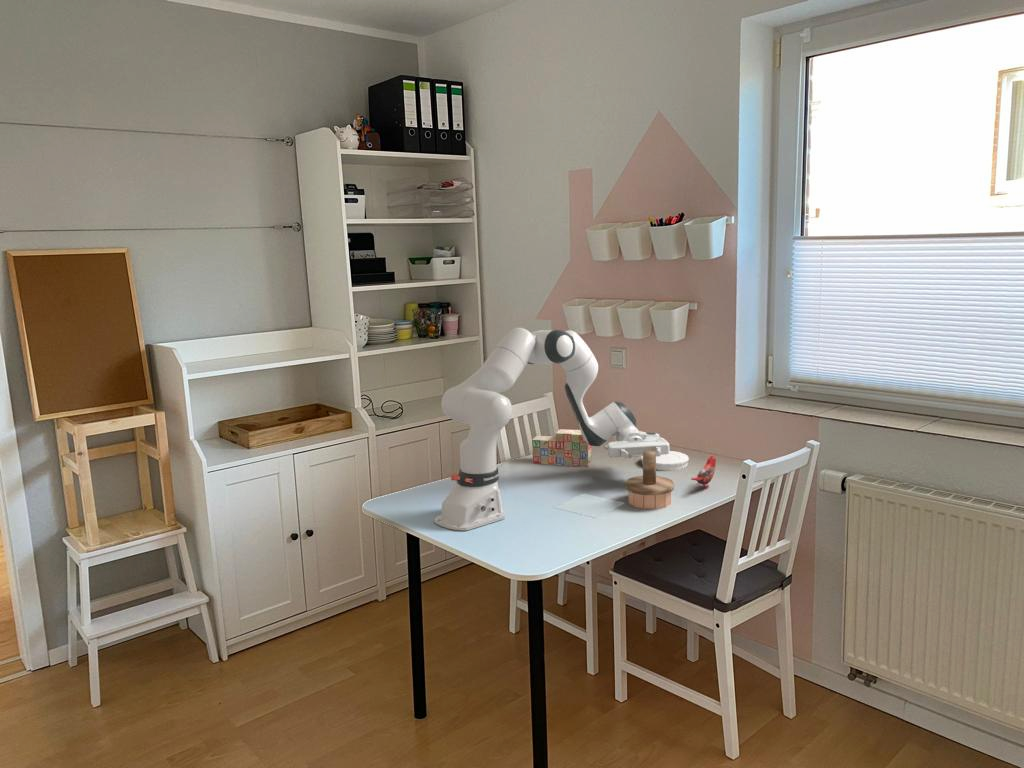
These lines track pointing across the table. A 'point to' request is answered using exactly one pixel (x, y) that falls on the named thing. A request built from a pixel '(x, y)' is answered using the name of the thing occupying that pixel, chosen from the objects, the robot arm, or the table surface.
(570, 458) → the stack of blocks
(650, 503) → the terracotta bowl
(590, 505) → the rubber mat
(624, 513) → the table surface
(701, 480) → the decorative bird figurine
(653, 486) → the walnut lid
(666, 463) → the lid
